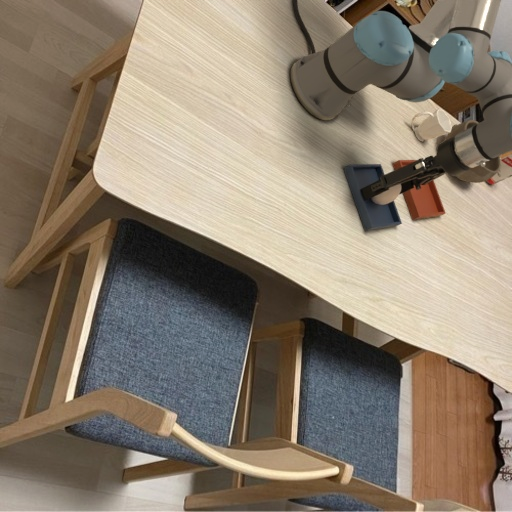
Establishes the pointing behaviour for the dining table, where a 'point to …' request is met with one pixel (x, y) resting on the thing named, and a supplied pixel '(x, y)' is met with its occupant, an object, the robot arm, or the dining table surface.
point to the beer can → (503, 170)
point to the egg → (387, 195)
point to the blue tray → (368, 210)
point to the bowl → (478, 172)
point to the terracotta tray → (422, 198)
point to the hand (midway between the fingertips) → (376, 193)
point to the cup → (432, 125)
